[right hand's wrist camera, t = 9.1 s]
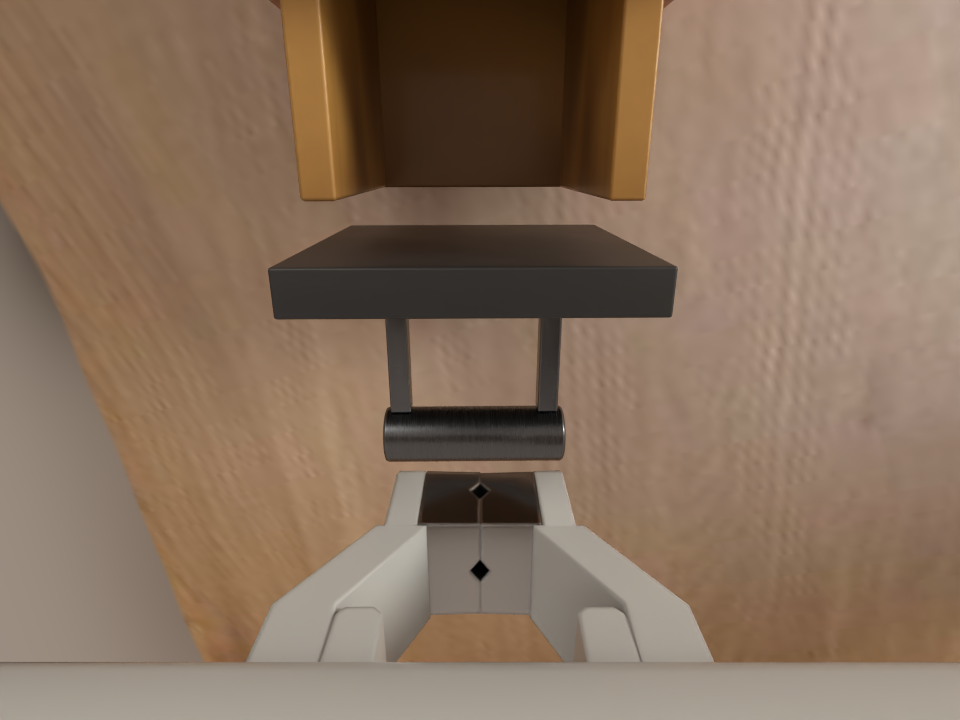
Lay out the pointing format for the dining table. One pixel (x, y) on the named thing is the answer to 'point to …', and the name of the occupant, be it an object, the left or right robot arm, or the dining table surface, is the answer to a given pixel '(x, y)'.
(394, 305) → the drawer
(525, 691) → the right robot arm
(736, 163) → the dining table surface
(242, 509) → the dining table surface
